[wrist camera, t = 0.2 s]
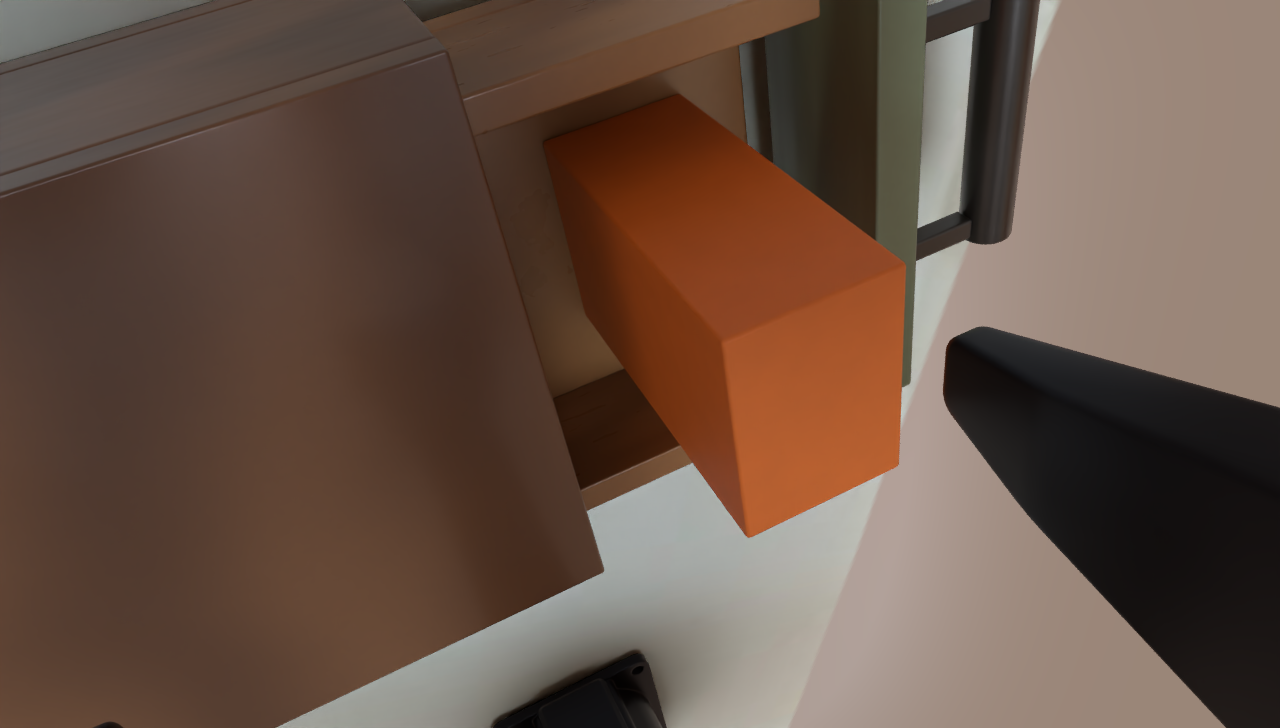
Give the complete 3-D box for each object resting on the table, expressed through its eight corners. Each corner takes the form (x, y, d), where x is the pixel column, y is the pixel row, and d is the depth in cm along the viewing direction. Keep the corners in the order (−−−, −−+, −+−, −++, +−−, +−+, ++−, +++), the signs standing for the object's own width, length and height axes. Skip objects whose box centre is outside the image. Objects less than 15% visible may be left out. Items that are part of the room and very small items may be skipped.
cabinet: (366, -45, 19) (448, 49, 14) (522, 419, 28) (605, 572, 23) (-521, 215, 15) (-796, 450, 11) (-24, 651, 24) (-58, 886, 19)
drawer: (956, -179, 22) (1113, -151, 18) (931, 250, 30) (1038, 325, 26) (148, 67, 18) (156, 163, 14) (369, 489, 26) (409, 616, 22)
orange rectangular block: (704, 267, 25) (900, 467, 18) (584, 315, 24) (748, 540, 18) (680, 91, 21) (907, 262, 15) (541, 140, 21) (722, 342, 14)
